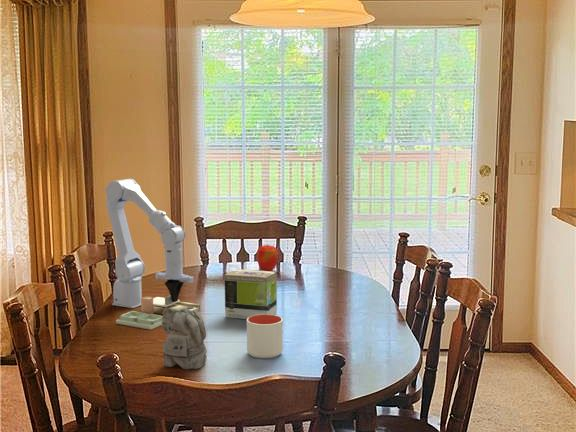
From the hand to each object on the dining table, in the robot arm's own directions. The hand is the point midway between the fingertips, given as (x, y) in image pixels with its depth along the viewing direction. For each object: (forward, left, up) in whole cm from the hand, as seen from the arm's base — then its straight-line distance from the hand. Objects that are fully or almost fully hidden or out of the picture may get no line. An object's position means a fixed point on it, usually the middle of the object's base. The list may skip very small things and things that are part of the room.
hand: (174, 301), depth 235 cm
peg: (-5, -9, -3) cm, 11 cm away
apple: (-1, +67, -4) cm, 67 cm away
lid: (-6, 0, -1) cm, 6 cm away
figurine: (+33, -40, -4) cm, 52 cm away
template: (-2, 0, -3) cm, 4 cm away
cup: (+48, -23, -4) cm, 53 cm away
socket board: (-1, -16, -3) cm, 16 cm away
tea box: (+26, +7, -4) cm, 27 cm away
